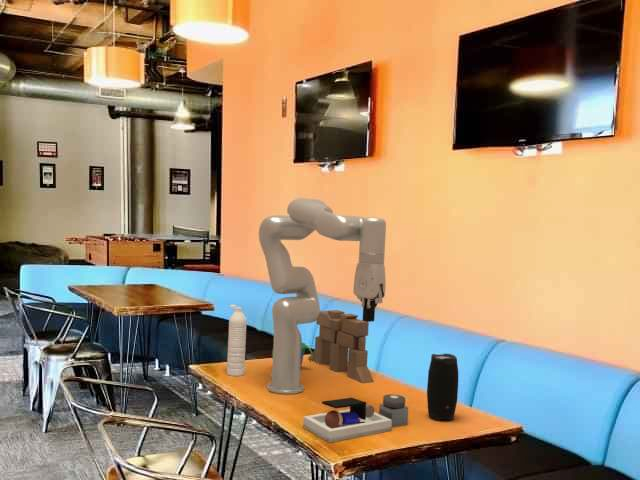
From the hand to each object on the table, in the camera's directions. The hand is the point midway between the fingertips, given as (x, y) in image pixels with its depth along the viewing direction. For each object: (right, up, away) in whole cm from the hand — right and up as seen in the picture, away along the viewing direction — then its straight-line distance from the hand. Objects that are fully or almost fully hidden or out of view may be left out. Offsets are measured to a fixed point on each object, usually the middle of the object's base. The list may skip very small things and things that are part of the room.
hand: (368, 321), depth 178 cm
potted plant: (-26, -27, +56) cm, 67 cm away
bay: (-7, -29, -9) cm, 31 cm away
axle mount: (+7, -30, -2) cm, 30 cm away
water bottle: (-46, -26, +45) cm, 70 cm away
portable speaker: (+22, -30, +5) cm, 38 cm away
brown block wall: (-7, -28, +59) cm, 65 cm away
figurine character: (-7, -28, -9) cm, 30 cm away
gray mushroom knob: (+7, -29, -2) cm, 30 cm away
